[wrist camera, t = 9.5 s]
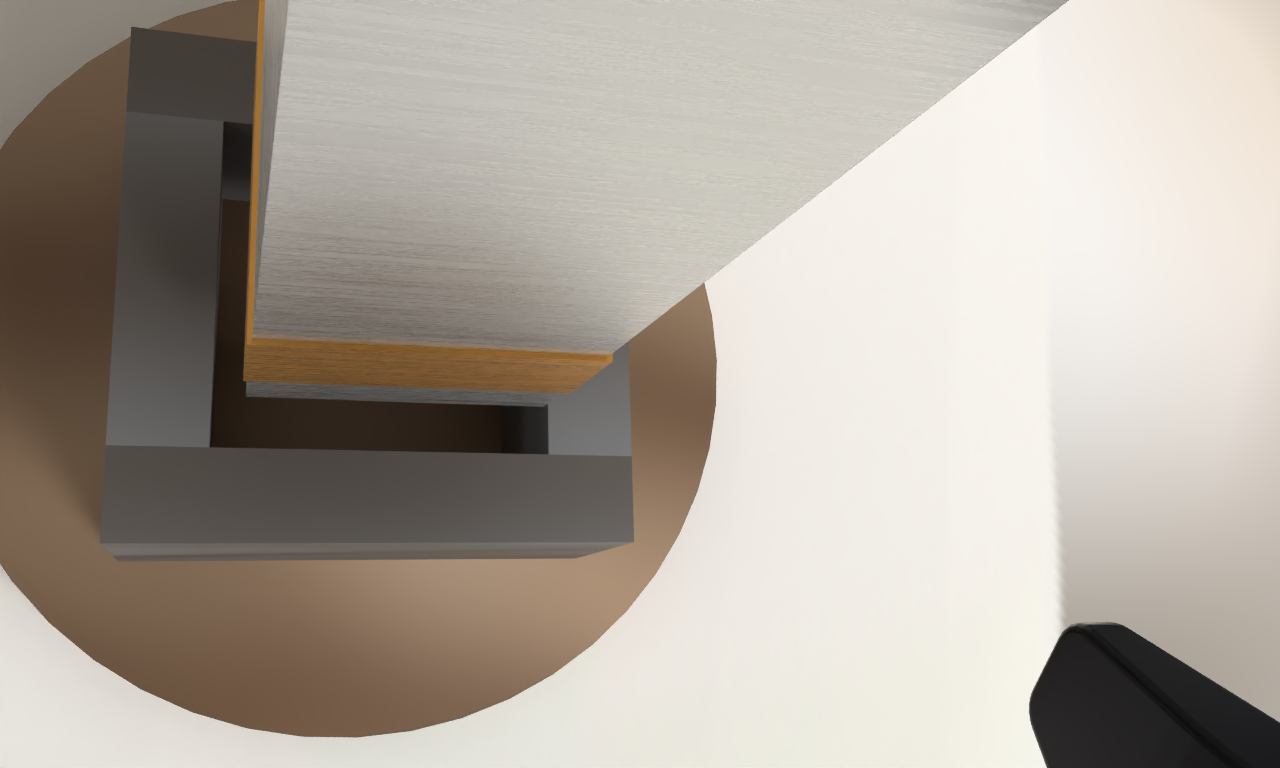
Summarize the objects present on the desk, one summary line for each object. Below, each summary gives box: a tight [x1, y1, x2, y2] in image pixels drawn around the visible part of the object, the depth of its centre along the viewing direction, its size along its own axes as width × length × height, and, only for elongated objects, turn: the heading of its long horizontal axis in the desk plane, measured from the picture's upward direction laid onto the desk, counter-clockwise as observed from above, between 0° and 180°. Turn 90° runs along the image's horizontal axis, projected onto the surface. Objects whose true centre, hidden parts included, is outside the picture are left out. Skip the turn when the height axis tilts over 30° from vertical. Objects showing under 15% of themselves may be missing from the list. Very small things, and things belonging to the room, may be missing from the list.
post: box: [243, 0, 1069, 407], centre depth 10 cm, size 4×4×11 cm
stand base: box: [0, 0, 717, 737], centre depth 18 cm, size 12×12×4 cm
